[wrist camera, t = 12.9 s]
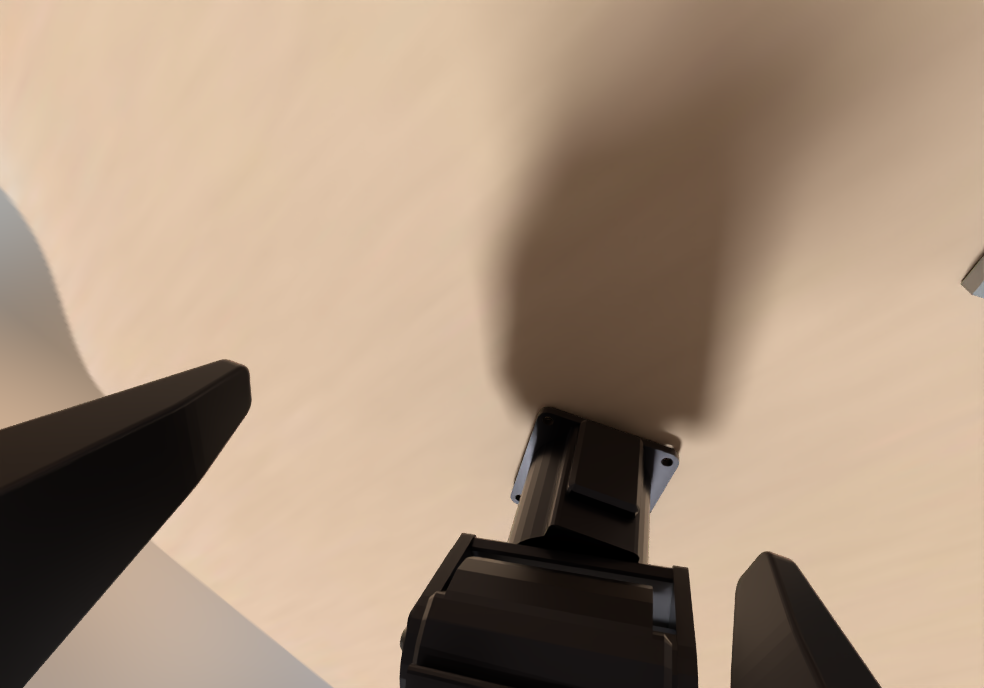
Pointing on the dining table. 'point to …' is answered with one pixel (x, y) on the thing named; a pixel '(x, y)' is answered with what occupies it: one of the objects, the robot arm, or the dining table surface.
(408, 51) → the dining table surface
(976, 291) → the dish rack
